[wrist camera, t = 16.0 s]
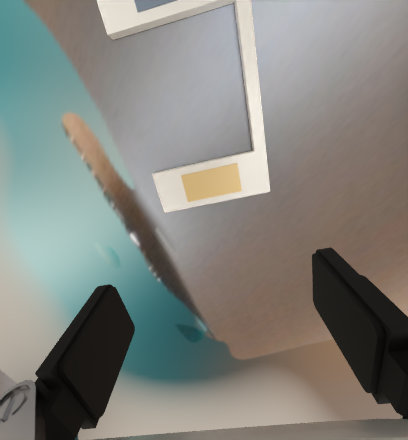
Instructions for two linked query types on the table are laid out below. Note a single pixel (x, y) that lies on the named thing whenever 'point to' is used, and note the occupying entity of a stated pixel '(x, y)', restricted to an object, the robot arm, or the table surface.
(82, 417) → the robot arm
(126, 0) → the label board
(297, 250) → the table surface
